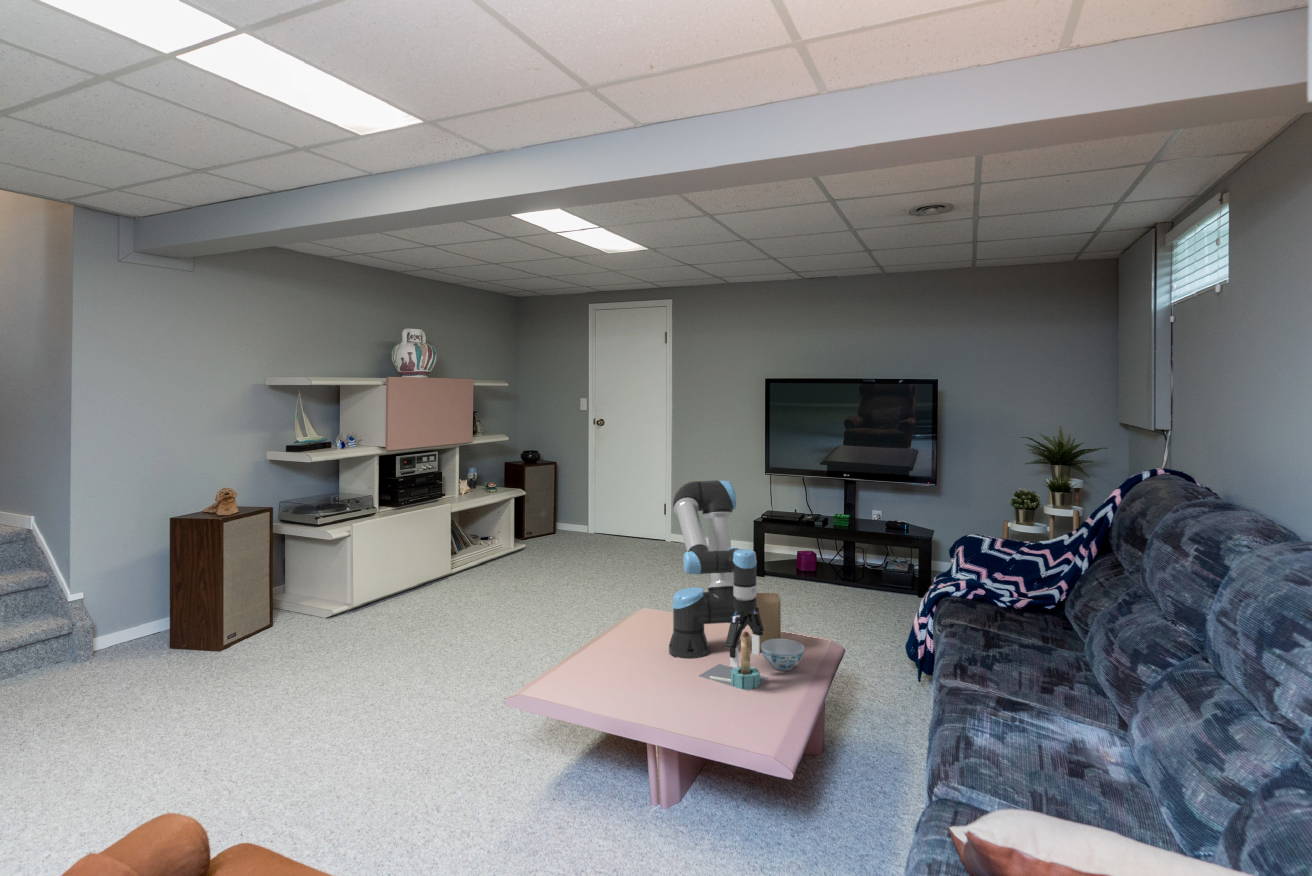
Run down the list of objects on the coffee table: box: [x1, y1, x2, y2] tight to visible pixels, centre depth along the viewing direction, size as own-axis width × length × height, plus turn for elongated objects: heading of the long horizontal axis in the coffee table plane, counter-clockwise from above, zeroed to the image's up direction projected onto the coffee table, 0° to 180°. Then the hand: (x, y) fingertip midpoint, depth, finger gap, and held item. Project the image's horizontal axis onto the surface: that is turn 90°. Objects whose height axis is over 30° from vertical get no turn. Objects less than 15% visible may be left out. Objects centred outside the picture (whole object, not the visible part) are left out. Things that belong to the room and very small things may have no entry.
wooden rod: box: [740, 631, 751, 675], centre depth 227 cm, size 3×3×17 cm
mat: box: [698, 663, 769, 692], centre depth 233 cm, size 20×13×1 cm, turn 51°
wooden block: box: [752, 592, 782, 653], centre depth 259 cm, size 10×10×20 cm
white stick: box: [709, 676, 731, 682], centre depth 230 cm, size 8×1×1 cm, turn 66°
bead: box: [731, 665, 761, 690], centre depth 227 cm, size 9×9×4 cm
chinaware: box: [761, 638, 805, 671], centre depth 241 cm, size 15×15×8 cm
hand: (745, 660), depth 227 cm, fingers open, 13 cm apart
